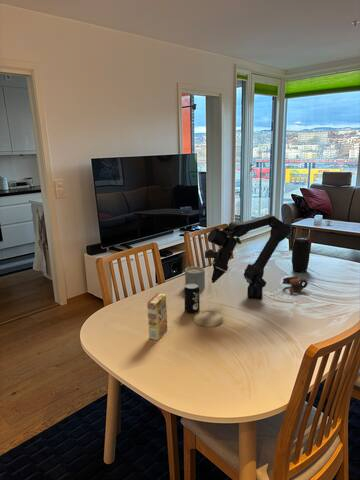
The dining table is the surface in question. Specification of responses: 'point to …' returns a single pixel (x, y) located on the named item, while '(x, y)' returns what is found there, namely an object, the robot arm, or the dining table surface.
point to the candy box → (157, 316)
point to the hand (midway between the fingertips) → (212, 281)
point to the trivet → (208, 319)
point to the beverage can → (191, 298)
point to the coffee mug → (195, 276)
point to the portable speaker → (300, 254)
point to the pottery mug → (295, 284)
